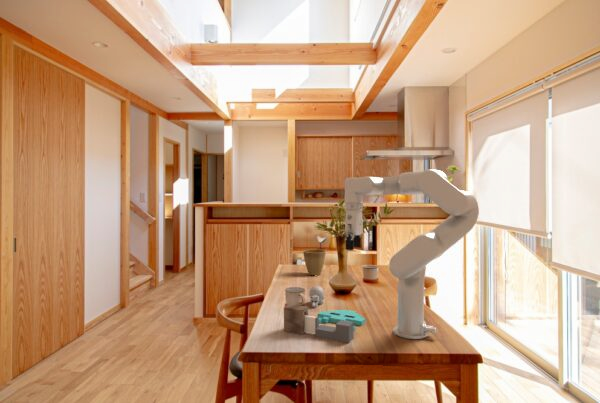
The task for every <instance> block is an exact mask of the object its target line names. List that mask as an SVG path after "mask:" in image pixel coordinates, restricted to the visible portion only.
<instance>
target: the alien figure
mask: <svg viewBox="0 0 600 403" xmlns="http://www.w3.org/2000/svg"><path fill="white" fill-rule="evenodd" d="M317 317H319V325H321V324H322V323H323V324H328V323H335V324H337V323H338V322H339V321H340V320H343V321H350V322H354V332H356V326H360V327H362V326H364V325H365V324H366V322H367V319H366V318H365V317H363V315H360V313H358V312H357V311H356V310H348V309H341V310H339V309H335V310H327V311H325V310H321V311H320V312H318V313H317ZM355 325H356V326H355Z"/></svg>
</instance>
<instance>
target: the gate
mask: <svg viewBox="0 0 600 403" xmlns="http://www.w3.org/2000/svg"><path fill="white" fill-rule="evenodd" d="M319 326H320V324H319V317H318V316H311V315H308V316H306V315H304V333H309V334H314V335H316V328H317V327H319Z"/></svg>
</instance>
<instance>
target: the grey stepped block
mask: <svg viewBox="0 0 600 403" xmlns="http://www.w3.org/2000/svg"><path fill="white" fill-rule="evenodd" d="M354 326H355V325H354V322H350V321H343V320H340V321H339V322H338V323H335V326H329V325H323V324H319V327H317V328H316V334H315V338H319V339H324V340H331V341H336V342H342V343H346V344H350V343H351V342H352V341H353V340H354V338H355V337H354V334H355V333H354Z"/></svg>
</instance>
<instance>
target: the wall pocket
mask: <svg viewBox="0 0 600 403" xmlns="http://www.w3.org/2000/svg"><path fill="white" fill-rule="evenodd" d="M304 315H306V316H309V306H305V305H297V304H292V303H290V304H288V305H286V306H284V307H283V332H286V333H292V334H298V335H304V334H305V332H304Z"/></svg>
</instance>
